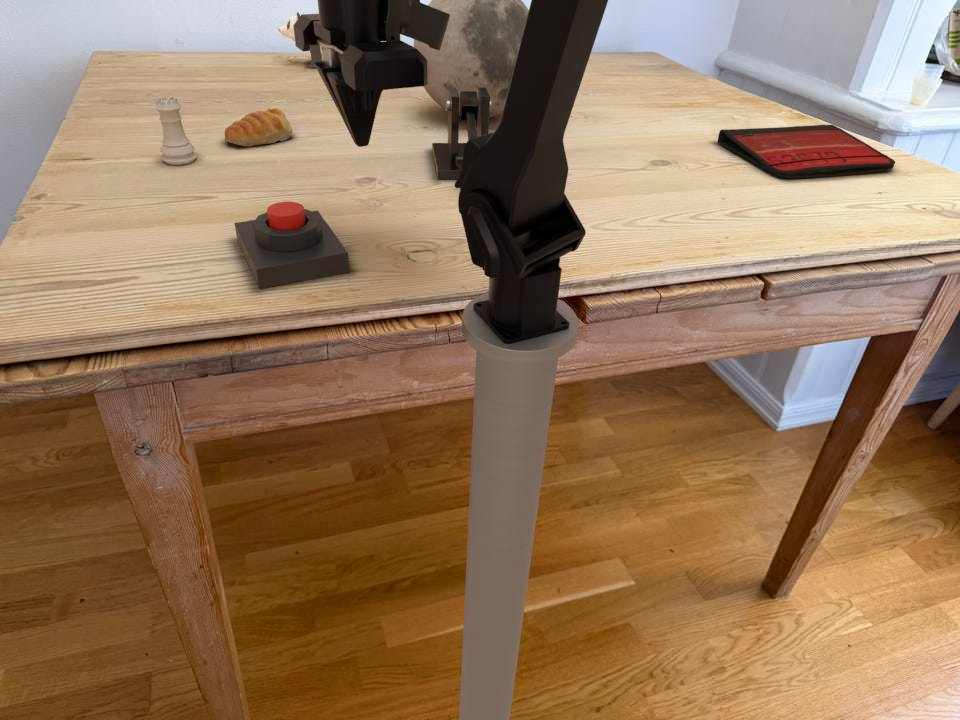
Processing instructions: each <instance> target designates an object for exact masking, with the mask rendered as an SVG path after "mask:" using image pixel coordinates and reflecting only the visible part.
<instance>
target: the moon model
mask: <svg viewBox="0 0 960 720" xmlns="http://www.w3.org/2000/svg"><path fill="white" fill-rule="evenodd" d="M427 5H428V6H430V7H433V8H435V9H438V10H440V11H443V12H445V13H448V14H450V18H449V21H448V25H447V28H446V31H445V35H444V38H443V42H442V45H441V48H440V50H436V49H433V48H430V47H429V46H428V44H425V43H423V42H420V41H418V40H415V39H413V47H414V48H416V49H418V51H419V52H420V53H421V54H422V55H423V56H424V57H425V58H426V59H427V71H428V84H427V85H425V86H422V87H423V88H424V90H425V91H426V93H427V94H428V95H429V96H430V98H431V99H432V100H433V101H434V102H435V103H436V104H437V105H438V106H439V107H440V108H442V109H444V110H445V111H446V100H449V87H456V89H457V92H458V94H459V101H460V91H476V92H477V98H478V88H479V87H480V88H486V89H487V91H488V93H489V95H490V100H491V102H492V109H491V111H489V118H493V117H497V116H498V115H499V116H500V115H502V113H503V109H504V106H505V102H506V98H507V94H508V90H509V86H510V82H511V78H512V74H513V70H514V66H515V63H516V59H517V55H518V51H519V47H520V43H521V39H522V35H523V31H524V27H525V23H526V20H527V16H528V12H529V8H528V7H527V6H526V4H525V3H524V2H523V0H431V1H430V2H429V3H428V4H427ZM459 117H460V109H459Z"/></svg>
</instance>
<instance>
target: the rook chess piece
mask: <svg viewBox="0 0 960 720" xmlns="http://www.w3.org/2000/svg"><path fill="white" fill-rule="evenodd" d="M155 101H156V102H155V106H154V109H155V110H156V111H157V112H158V113H159V118H158V120H159V121H160V123H161V126H162V127H161V128H162V136H163V137H162V142H161V144H162V145H161V147H160V153H161V154H162V155H161V160H162V161H163V162H165V163H166V164H167V165H173V166H181V165H188V164H191V163H193V162H194V161H195V160H196V158H197V154H196V152H195V150H196V149H195V146H194V145H193V144H192V143H191V141H190V139H189V138H188V136H187V135H186V131H185V129H184V127H183V123H182V119H183V117H182V116H181V114H180V110H181V108H182V105H181V103H179V101H178V98H177V97H176V96H172V95H170V96H168V99H167V97H166V96H164V95H163V96H161V97H157V98H155Z"/></svg>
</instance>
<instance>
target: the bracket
mask: <svg viewBox="0 0 960 720" xmlns="http://www.w3.org/2000/svg"><path fill="white" fill-rule="evenodd" d="M478 105H479V107H478V116H477V120H476V129H477V136H478V137H479V136H483V135H486V134H489V131H490V117H489V111H491V109H492V102H491V100H490V95H489V93H488V91H487V89H486V88H480V87H479V88H478ZM445 111H446V112H448V113H447V116H448V117H447V119H448V120H447V123H448V125H447V142H432V143H431V152H432V157H433V162H434V167H435V171H436V176H437V180H458V178H459V176H460V173H461V171H462V166H456V156H463V152H464V149H465V146H466V144H467V142H459V136H460V134H459V133H460V129H459V128H460V116H459V94H458V92H457V89H456V87H449V100H446V110H445Z"/></svg>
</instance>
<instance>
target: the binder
mask: <svg viewBox="0 0 960 720" xmlns="http://www.w3.org/2000/svg"><path fill="white" fill-rule="evenodd" d="M717 144H718V145H720V146H722V147H723V148H727V149H728V150H730V151H732V152H734V153H736V154H737V155H740V156H742V157H743V158H745V159H747V160H748V161H750V162H752V163H754V164H755V165H757V166H759V167H761V168H762V169H764V170H765V171H766V172H769V173H771V174H773V175H775V176H778V177H782V178H785V179H810V178H826V177H828V178H829V177H842V176H853V175H861V174H870V173H878V172H885V171H890V170H892V169H894V167H895V164H896V161H895V160H894V159H893V158H891V157H889V156H888V155H887V154H885V153H883V152H881V151H879V150H877V149H876V148H875V147H873V146H871V145H869V144H868V143H866V142H864V141H863V140H861V139H859V138H858V137H856V136H854V135H852V134H850V133H849V132H846V131H845V130H843V129H842V128H841V127H838V126H837V125H834V124H814V125H795V126H780V127H778V126H777V127H758V128H757V127H755V128H737V129H720V130H719V132H718V137H717Z"/></svg>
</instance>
